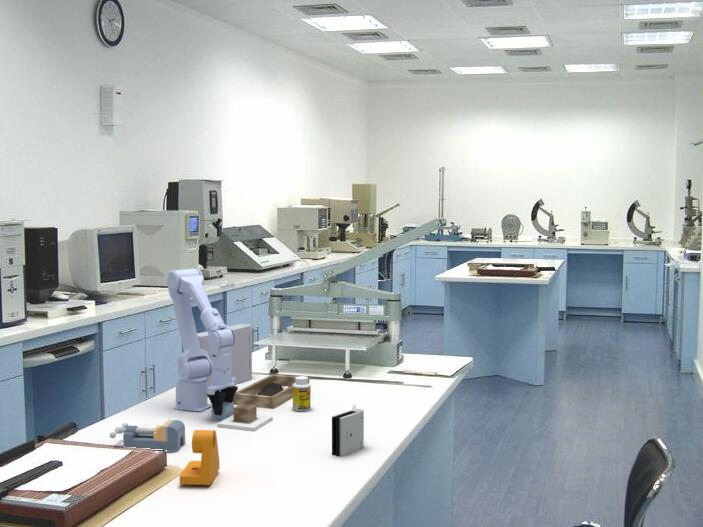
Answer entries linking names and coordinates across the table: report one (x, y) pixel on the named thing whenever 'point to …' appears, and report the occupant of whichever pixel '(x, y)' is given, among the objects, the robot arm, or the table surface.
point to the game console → (234, 352)
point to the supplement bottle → (301, 394)
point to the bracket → (202, 459)
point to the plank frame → (250, 397)
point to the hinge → (347, 431)
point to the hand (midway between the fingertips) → (222, 412)
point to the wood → (271, 389)
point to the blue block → (223, 411)
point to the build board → (249, 426)
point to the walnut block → (244, 413)
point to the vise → (154, 436)
